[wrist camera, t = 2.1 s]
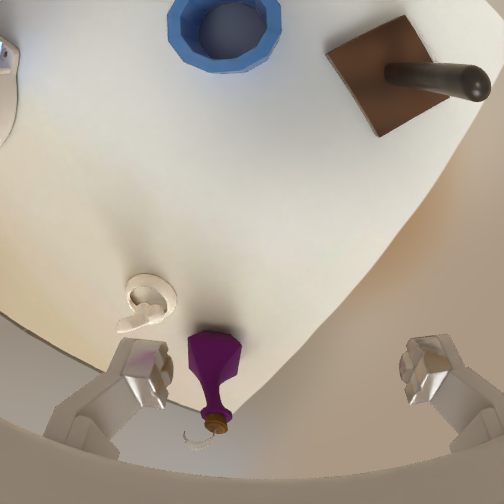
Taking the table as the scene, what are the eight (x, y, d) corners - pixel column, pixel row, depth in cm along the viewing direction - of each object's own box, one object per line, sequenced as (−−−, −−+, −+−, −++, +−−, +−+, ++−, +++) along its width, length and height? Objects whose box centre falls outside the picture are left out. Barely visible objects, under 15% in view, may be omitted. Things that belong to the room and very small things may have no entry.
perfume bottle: (243, 327, 45) (233, 441, 29) (238, 359, 49) (228, 461, 33) (192, 320, 44) (165, 431, 29) (192, 352, 48) (170, 453, 33)
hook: (139, 261, 33) (160, 322, 32) (171, 266, 45) (188, 312, 44) (87, 283, 33) (106, 341, 32) (128, 283, 45) (143, 327, 44)
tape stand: (324, 54, 26) (380, 37, 12) (400, 16, 22) (495, -9, 8) (375, 135, 30) (454, 191, 16) (444, 96, 26) (547, 128, 12)
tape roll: (190, 76, 27) (170, 77, 21) (186, -1, 23) (165, -18, 17) (279, 71, 27) (282, 69, 21) (276, -8, 22) (278, -29, 16)
